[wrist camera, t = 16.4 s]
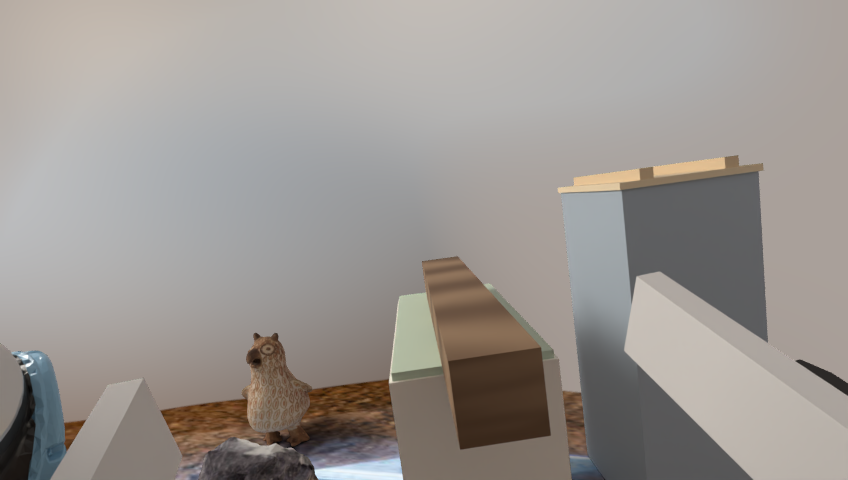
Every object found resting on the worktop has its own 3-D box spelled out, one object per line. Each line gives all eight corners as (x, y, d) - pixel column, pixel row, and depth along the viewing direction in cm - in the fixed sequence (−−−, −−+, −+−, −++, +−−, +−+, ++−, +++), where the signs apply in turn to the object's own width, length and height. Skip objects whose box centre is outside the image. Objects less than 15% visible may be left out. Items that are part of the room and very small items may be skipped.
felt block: (589, 647, 26) (557, 350, 24) (432, 673, 26) (387, 375, 24) (512, 455, 46) (491, 282, 44) (422, 468, 46) (397, 296, 44)
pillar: (585, 454, 45) (556, 179, 42) (680, 439, 45) (658, 165, 42) (651, 551, 32) (618, 171, 29) (782, 530, 33) (762, 151, 30)
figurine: (232, 462, 52) (210, 347, 51) (272, 420, 62) (254, 322, 60) (300, 460, 51) (279, 341, 49) (330, 417, 60) (313, 316, 59)
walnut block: (426, 296, 42) (421, 261, 42) (462, 291, 42) (457, 256, 42) (460, 449, 16) (447, 361, 16) (550, 435, 16) (541, 347, 16)
